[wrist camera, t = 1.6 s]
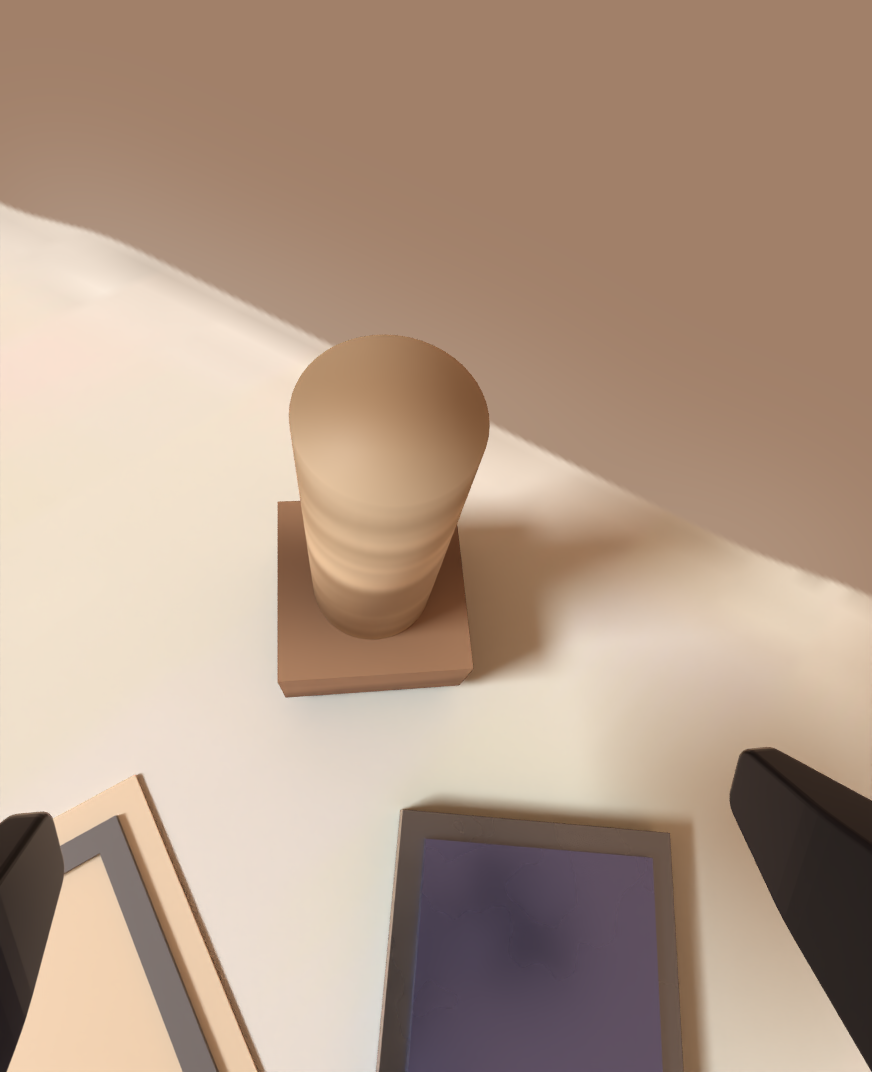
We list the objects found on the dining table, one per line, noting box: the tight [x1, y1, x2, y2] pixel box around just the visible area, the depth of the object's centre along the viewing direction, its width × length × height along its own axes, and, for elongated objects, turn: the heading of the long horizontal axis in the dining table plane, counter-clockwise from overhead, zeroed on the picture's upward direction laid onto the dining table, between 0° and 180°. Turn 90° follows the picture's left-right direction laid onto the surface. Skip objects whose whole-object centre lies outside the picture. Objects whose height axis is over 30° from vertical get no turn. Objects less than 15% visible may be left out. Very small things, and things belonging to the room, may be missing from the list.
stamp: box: [278, 335, 490, 697], centre depth 17 cm, size 5×5×12 cm
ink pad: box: [376, 810, 683, 1072], centre depth 18 cm, size 10×8×1 cm
